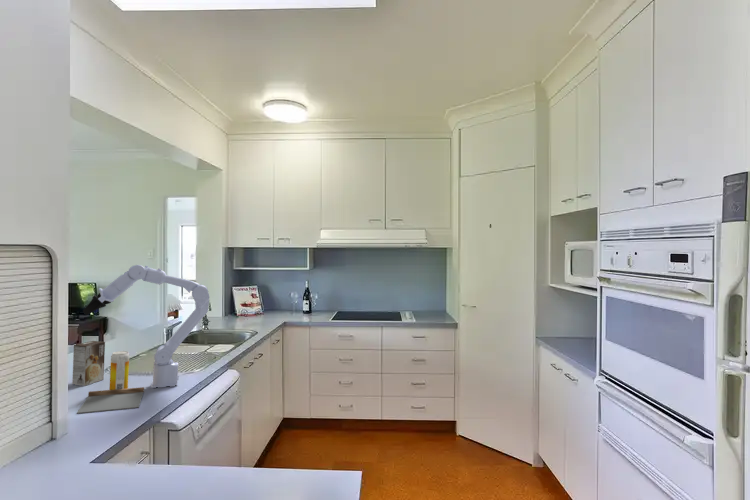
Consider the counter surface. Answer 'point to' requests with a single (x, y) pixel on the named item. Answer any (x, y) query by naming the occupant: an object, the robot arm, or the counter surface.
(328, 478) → the counter surface
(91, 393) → the bar
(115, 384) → the beer can
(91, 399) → the mat
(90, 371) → the coffee box
